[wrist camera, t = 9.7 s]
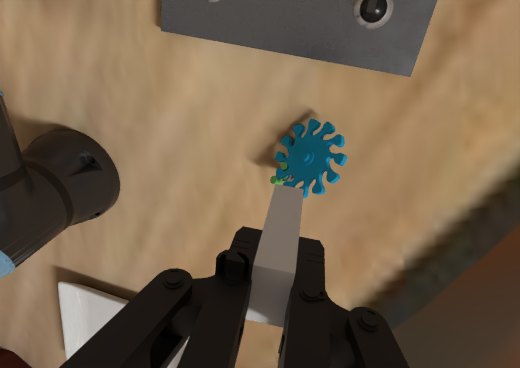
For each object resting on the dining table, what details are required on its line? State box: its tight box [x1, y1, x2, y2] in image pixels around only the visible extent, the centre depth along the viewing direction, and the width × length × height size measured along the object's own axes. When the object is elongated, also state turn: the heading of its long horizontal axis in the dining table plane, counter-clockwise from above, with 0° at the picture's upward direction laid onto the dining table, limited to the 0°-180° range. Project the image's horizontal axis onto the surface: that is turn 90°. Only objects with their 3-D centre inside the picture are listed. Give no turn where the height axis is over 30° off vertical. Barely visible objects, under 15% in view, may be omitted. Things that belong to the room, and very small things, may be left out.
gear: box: [270, 119, 347, 198], centre depth 43 cm, size 11×6×10 cm
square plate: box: [58, 281, 189, 368], centre depth 69 cm, size 27×27×4 cm
